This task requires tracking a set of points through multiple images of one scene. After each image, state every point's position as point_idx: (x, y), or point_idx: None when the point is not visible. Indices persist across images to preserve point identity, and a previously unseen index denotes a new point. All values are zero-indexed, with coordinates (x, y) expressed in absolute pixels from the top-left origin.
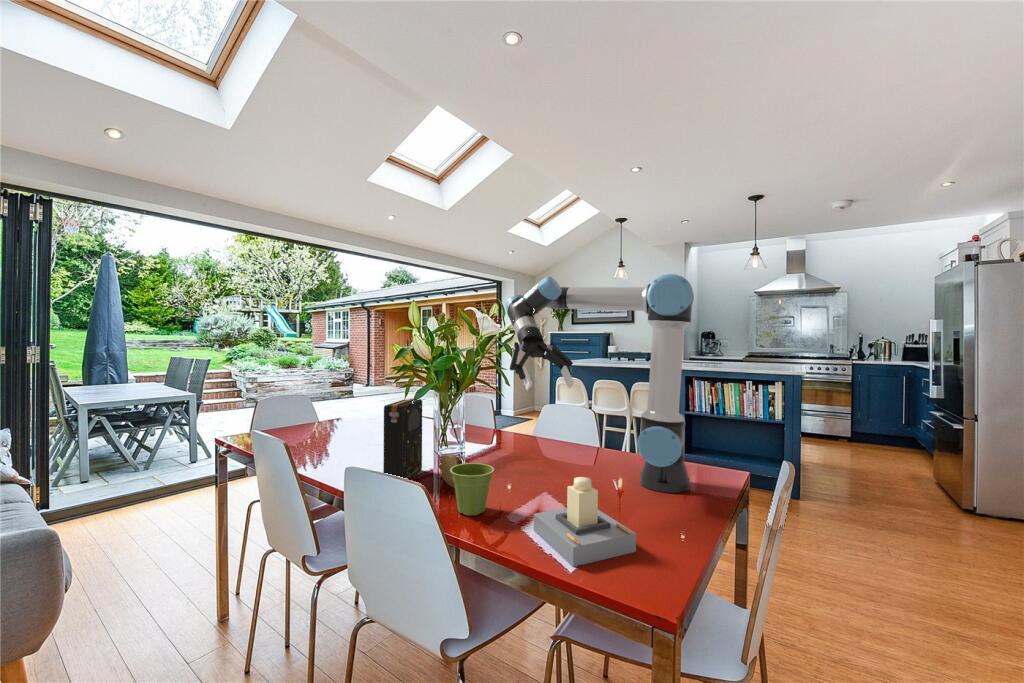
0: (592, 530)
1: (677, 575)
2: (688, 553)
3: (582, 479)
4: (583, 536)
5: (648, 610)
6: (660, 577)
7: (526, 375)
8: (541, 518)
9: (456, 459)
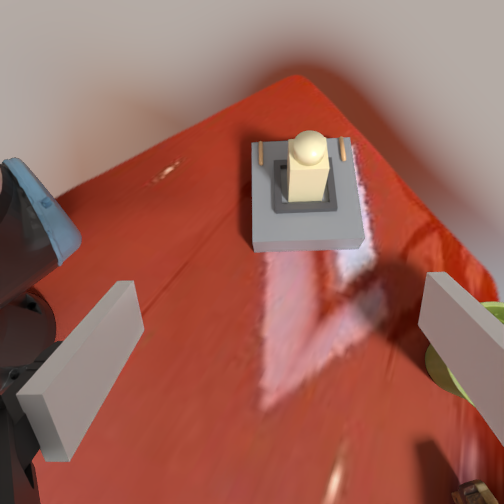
0: None
1: (245, 112)
2: (198, 139)
3: (309, 144)
4: None
5: (311, 83)
6: (264, 114)
7: (489, 314)
8: (358, 219)
9: None
